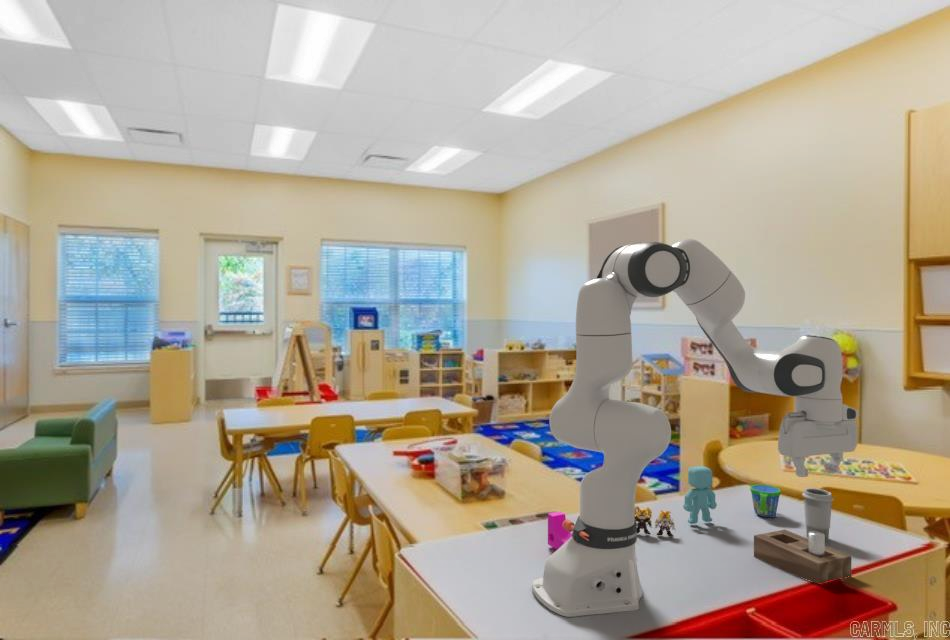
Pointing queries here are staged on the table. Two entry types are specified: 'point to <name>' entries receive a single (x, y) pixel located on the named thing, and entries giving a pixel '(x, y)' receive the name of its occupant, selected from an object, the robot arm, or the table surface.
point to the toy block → (557, 530)
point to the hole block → (800, 557)
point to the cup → (817, 510)
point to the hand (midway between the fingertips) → (817, 474)
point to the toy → (699, 494)
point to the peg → (816, 544)
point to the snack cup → (765, 499)
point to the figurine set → (663, 520)
